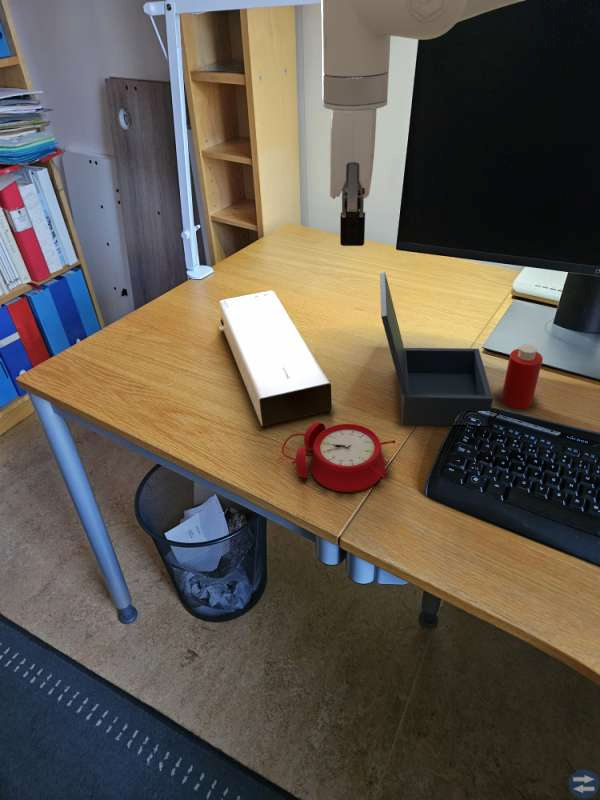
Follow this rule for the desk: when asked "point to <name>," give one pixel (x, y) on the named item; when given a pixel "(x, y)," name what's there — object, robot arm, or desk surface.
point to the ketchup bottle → (521, 377)
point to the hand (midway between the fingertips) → (352, 243)
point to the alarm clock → (341, 456)
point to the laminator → (273, 359)
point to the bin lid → (392, 332)
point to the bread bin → (443, 385)
